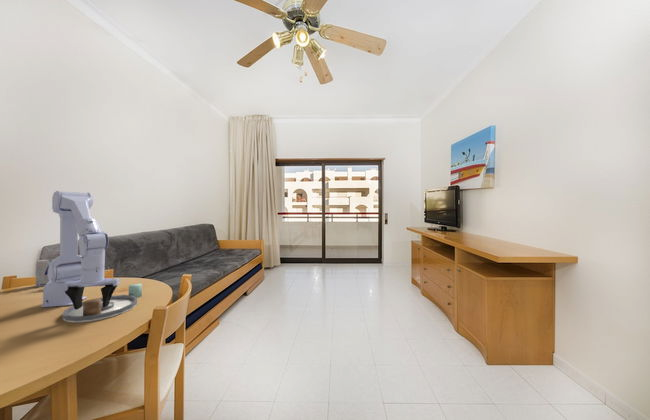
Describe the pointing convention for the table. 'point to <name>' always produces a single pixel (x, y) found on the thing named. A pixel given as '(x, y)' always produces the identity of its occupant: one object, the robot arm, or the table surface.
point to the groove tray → (102, 309)
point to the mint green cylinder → (135, 290)
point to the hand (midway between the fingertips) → (92, 307)
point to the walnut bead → (92, 307)
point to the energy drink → (42, 272)
